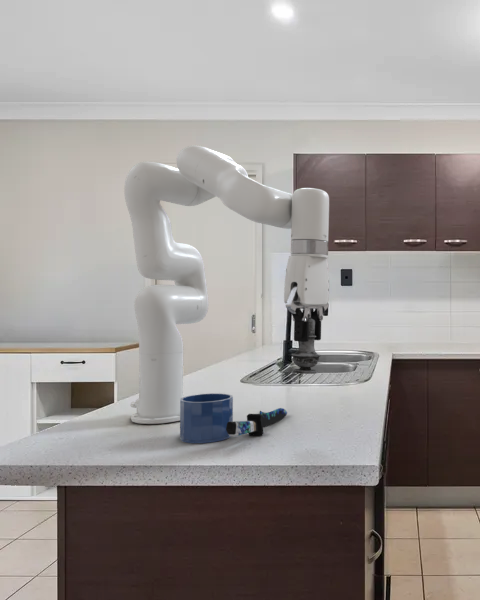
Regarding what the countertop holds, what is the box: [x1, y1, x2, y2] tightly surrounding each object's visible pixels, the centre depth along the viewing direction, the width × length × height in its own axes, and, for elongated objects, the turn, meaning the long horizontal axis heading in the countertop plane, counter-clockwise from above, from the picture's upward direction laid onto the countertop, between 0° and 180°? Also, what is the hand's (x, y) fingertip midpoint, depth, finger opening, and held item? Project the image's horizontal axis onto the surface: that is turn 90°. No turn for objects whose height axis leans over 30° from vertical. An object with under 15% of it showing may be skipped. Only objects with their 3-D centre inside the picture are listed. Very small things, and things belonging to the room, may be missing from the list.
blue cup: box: [179, 392, 234, 444], centre depth 106 cm, size 10×10×8 cm
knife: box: [226, 407, 288, 438], centre depth 110 cm, size 31×3×4 cm, turn 169°
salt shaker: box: [291, 313, 322, 375], centre depth 105 cm, size 6×6×12 cm
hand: (307, 339), depth 105 cm, fingers closed on salt shaker, 3 cm apart
